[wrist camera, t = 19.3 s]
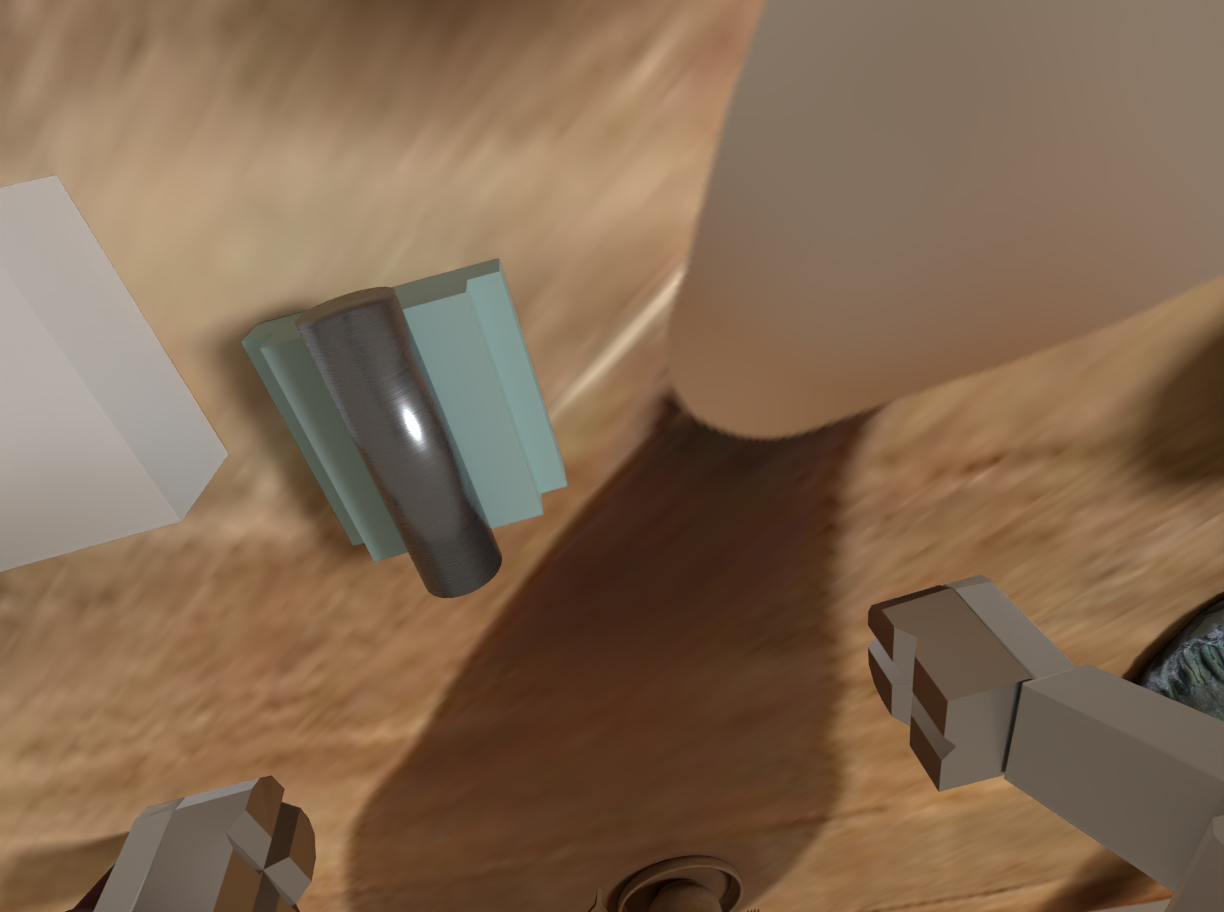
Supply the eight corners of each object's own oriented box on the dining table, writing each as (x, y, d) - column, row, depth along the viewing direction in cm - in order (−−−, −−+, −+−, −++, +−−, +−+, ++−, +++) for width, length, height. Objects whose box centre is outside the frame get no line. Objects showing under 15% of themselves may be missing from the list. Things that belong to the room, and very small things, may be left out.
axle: (312, 302, 28) (280, 335, 25) (403, 279, 28) (382, 310, 25) (431, 553, 36) (418, 605, 32) (504, 536, 35) (499, 587, 32)
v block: (257, 324, 32) (225, 357, 28) (499, 258, 32) (499, 282, 29) (360, 519, 38) (346, 569, 34) (563, 463, 39) (571, 506, 35)
